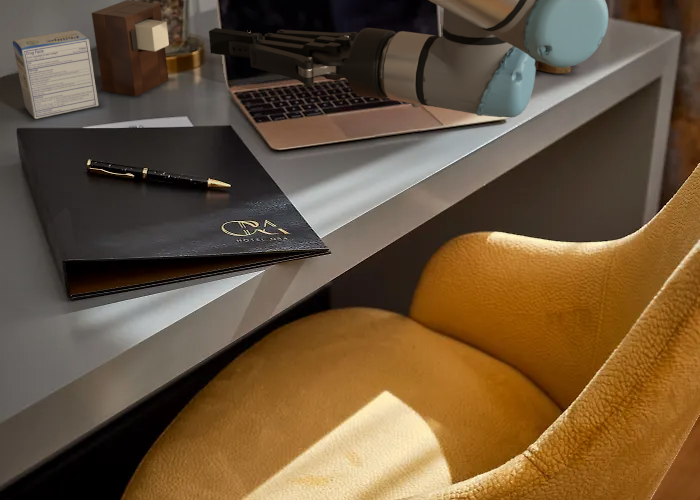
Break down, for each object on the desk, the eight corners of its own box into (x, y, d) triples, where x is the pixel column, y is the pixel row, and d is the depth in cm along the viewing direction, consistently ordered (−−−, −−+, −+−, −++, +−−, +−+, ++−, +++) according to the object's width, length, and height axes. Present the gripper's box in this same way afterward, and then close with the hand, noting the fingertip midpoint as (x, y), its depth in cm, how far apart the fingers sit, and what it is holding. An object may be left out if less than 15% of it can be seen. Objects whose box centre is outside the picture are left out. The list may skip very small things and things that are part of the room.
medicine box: (88, 97, 115) (77, 28, 111) (99, 107, 112) (89, 37, 108) (24, 109, 111) (11, 39, 107) (34, 120, 108) (21, 48, 104)
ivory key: (169, 45, 115) (166, 21, 114) (154, 51, 113) (152, 27, 112) (149, 42, 117) (147, 18, 115) (135, 48, 114) (132, 24, 113)
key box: (170, 80, 120) (161, 4, 116) (136, 96, 115) (126, 17, 110) (136, 74, 123) (127, -1, 118) (102, 90, 117) (91, 12, 112)
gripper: (367, 117, 98) (184, 86, 107) (414, 80, 108) (244, 55, 117) (367, 48, 94) (178, 23, 103) (416, 17, 104) (240, -4, 114)
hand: (213, 40), depth 110 cm, fingers closed
